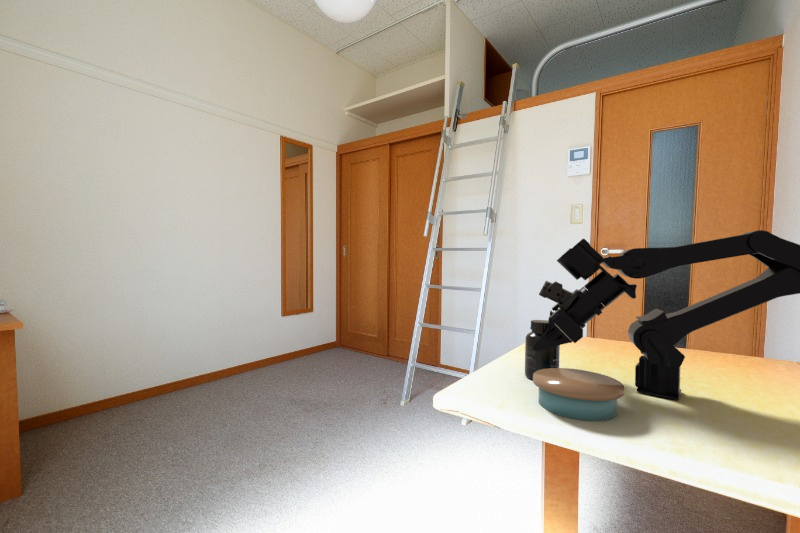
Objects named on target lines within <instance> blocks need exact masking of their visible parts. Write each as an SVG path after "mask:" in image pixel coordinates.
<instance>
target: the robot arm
mask: <svg viewBox="0 0 800 533" xmlns="http://www.w3.org/2000/svg"><path fill="white" fill-rule="evenodd" d="M747 255H749V256H751V257H752V258H754V259H756V261H758V262H760V263H762V264H763V265H764V266H766V267H767V268H766V269H765V270H764V271H762V272H761V273H760V274H759V275H758V276H756V277H754V278H753V279H751V280H747V281H746V282H744V283H741V284H738V285H736V286H734V287H731V288H729V289H727V290H724V291H721V292H720V293H718V294H715V295H712V296H710V297H708V298H705V299H702V300H700V301H699V302H695V303H693V304H690V305H688V306H687V307H684V308H682V309H679V310H677V311H674V312H669V313H666V311H663V310H661V309H658V308H655V309H653V310H651V311H649V312H648V313H646V314H645V315H639V316H638V315H637V316H635V318H636V319H637V320H635V321H633V322H632V323H631V324H630V325H629V327H628V330H627V335H628V339H629V340H630V341H631V343H632V344H633V346H635V347H636V348H637V350H639V351H640V354H641V356H640V357H639V358H638V363H636V365H635V368H634V371H635V373H634V374H635V376H634V386H635V387H636V393H640V394H645V395H650V396H655V397H658V398H659V397H660V398H666V399H670V400H675V401H679V400H680V397H681V393H682V389H681V366H682V364H683V362H684V360H685V358H686V355H684V353H682V351H680V350H679V349H678V348H677V347H676V345H678V344H679V343H680V342H682V341H683V340H684V338H686V337H687V336H688V335H689V334H691V333H692V332H695V331H696V330H699V329H702V328H705V327H707V326H710V325H712V324H714V323H717V322H720V321H722V320H724V319H727V318H730V317H732V316H735V315H737V314H739V313H742V312H744V311H748V310H750V309H752V308H755V307H758V306H759V305H763V304H765V303H768V302H771V301H773V300H775V299H777V298H782V297H787V296H793V295H799V294H800V244H799V243H795V242H793V241H790V240H787V239H784V238H782V237H779V236H777V235H775V234H773V233H772V232H770V231H768V230H767V231H766V230H762V229H759V230H753V231H752V230H751V231H747V232H744V233H742V234H739V235H733V236H728V237H727V236H726V237H723V238H715V239H710V240H706V241H699V242H693V243H690V244H689V243H688V244H684V245H677V246H673V247H671V246H670V247H668V246H667V247H663V246H662V247H638V248H637V247H636V248H630V249H626V250H624V251H622V252H621V253H620V254H619V255H618V256H611V255H607V256H604V257H603V256H602V255H601V254H600V253H599V252H598V251H597V250H596V249H594V247H592V245H591V244H590V243H589V241H587V239H586V238H582V239H581V240H579V242H577V243H576V244H575V245H574V246H572V247H571V248H569V249H568V250H566V251H565V252H564V253H563V254H562V255H560V256H559V258H558V259H557V260H556V262H557V263H558V264H559V265H560V266H562V267H563V268H564V269H565V270H566V271H567V272H568V274H570V275H571V276H572V277H573V278H574V279H575V280H576V281H578V280H579V279H583V281H587V280H588V279H590V278H591V277H592V276H593V275H594V274H595V273H597V271H599V270H600V272H599V273H598V274H597V275H595V276H594V277H593V278H592V279H591V280H589V281H588V282H587V283H586V284H584V286H582V287H581V288H580V289H575V290H574V291H569V290H567V289H566V288H563V283H560V282H557V281H554V282H550V281H548V280H545V282H544V283H543V285H542V288H540V292H538V296H541V297H542V298H545V299H548V300H550V301H553V302H554V303H556V304H555V305H554V306H552V307H551V310H550V311H549V316H548V320H547V321H548V329H547V330H546V331H545V332H544V333H543V335H542V336H541V337H540V338H539V340H538V341H537V342H536V343H535V344H534V346H533V349H534V350H535V351H540V350H543V349H547V348H550V347H554V346H558V345H560V346H561V345H566V344H568V343H570V344H571V343H574V344H576V343H577V342H578V341H580V340H581V339H582V338H583V337H584V328H585V327H586V324H587V323H588V322H590V321H591V320H592V319H594V317H596V316H601V314H603V310H604V309H606V308H607V307H608V306H609V305H611V304H612V303H614V302H615V301H616V300H617V299H618V298H619V297H620V296H621V295H623V294H625V295H627V296H628V297H629V298H631V299H633V300H634V299H636V298H637V295H636V294H637V293H636V289H637V284H635V283H631V284H630V283H628V282H627V281H626V280H625V279H624V278H623V276H624V277H627V278H630V279H635V280H637V279H638V280H639V279H645V278H648V277H650V276H654V275H657V274H660V273H663V272H665V271H668V270H670V269H674V268H677V267H680V266H687V265H691V264H699V263H705V262H710V261H718V260H722V259H729V258H735V257H741V256H747ZM602 265H603V266H604V267H605V268H608V269H612V270H613V269H614V270H617V271H618V272H619V273H620V274H621V275H622V276H620V275H619V273H616V274H614V275H612V274H611V273H609V271H607V270H606V269H605V268H604V267H603V266H602Z"/></svg>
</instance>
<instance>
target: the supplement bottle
mask: <svg viewBox="0 0 800 533" xmlns="http://www.w3.org/2000/svg"><path fill="white" fill-rule="evenodd" d="M547 329H548V320H545V319H531V321H530V330H531V331H530V332H529V333H527V334H526V336H525V346H524V347H525V348H524V375H525V377H526V378H528V379H529V380H532V381H533V373H534V372H536V371H538V370H541V369H548V368H560V355H561V354H560V353H561V352H560V349H561V348H560V347H561V345H558V346H554V347H550V348H547V349H543V350H540V351H535V350H534V349H533V346H534V344H535V343H536V342H537V341H538V340H539V338H540V337H541V336H542V335H543V333H544V332H545V331H546V330H547Z"/></svg>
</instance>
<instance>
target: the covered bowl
mask: <svg viewBox="0 0 800 533" xmlns="http://www.w3.org/2000/svg"><path fill="white" fill-rule="evenodd" d="M532 383H533V385H534V386H536V387H537V388H538V403H539V404H538V405H539V406H541V407H542V408H543V409H545V410H547V411H548V412H550V413H553V414H555V415H558V416H562V417H565V418H569V419H573V420H579V421H587V422H588V421H589V422H602V421H608V420H612V419H614V418H616V416H617V412H618V410H617V409H618V408H617V407H618V403H617V402H618V400H619V399H621V398H622V397H624V395H625V385H624V384H623V383H622V382H621V381H620V380H618V379H616V378H613V377H611V376H608V375H605V374H602V373H598V372H594V371H591V370H589V371H588V370H583V369H578V368H576V369H575V368H567V367H564V368H563V367H559V368H548V369H541V370H538V371H536V372H534V373H533V380H532Z"/></svg>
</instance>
